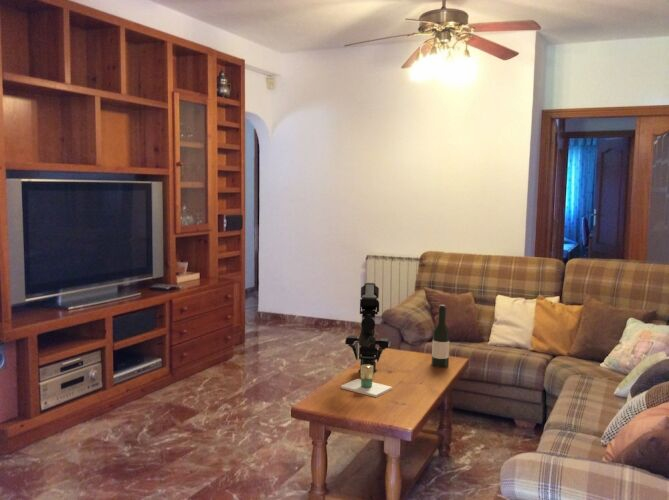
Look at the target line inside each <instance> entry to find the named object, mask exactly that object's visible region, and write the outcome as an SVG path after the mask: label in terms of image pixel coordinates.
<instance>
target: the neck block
mask: <svg viewBox="0 0 669 500" xmlns="http://www.w3.org/2000/svg"><path fill="white" fill-rule="evenodd" d="M340 388H341V389H343V390H347V391H351V392H354V393H359V394H361V395H362V394H363V395H365V396H369V397H373V398H378V397H379V396H382V395H383V394H385V393H388V392H389V391H391V390H393V387H392V386H390V385H386V384H382V383H378V382H374V381H373V378H372V379H362V378H361V377H360V378H355V379H353V380H350V381H349V382H346V383H343V384H342V385H341V386H340Z"/></svg>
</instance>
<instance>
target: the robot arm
mask: <svg viewBox="0 0 669 500" xmlns="http://www.w3.org/2000/svg"><path fill="white" fill-rule="evenodd" d="M379 292H380V288H379V287H378V286H377V285H376V283H375V282H364V285H363V286H361V287H360V299H359V315H361V321H360V322H361V325H360V326H361V328H360V335H359V337H358V336H357V335H352V334H349V335H348V336H347V337H346V338H345V345H348V347H350V348H351V349H352V351H353V354H354V357H355V360H356V361H358V360H360V365H359V366H360V367H359V368H360V369H358V370H357V371H358V372H359V373H361V365H364V364H368V365H372V366H373V373H375V372H377V367H376V366H377V363H379V361H380V358H381V356H382V353H383V351H384V350H386V349H388V348H390V346H391V340H390V338H385V337H384V338H383V337H381V338H380V339H376V315H378V313H380V301H379V297H380V296H379V294H380V293H379ZM376 345H378V347H377V346H376ZM376 362H377V363H376Z"/></svg>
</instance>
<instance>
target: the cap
mask: <svg viewBox="0 0 669 500" xmlns="http://www.w3.org/2000/svg"><path fill="white" fill-rule="evenodd" d="M361 378H362V379H372V380H373V379H374V372H373V366H372V365H368V364H364V365H361V372H360V379H361Z"/></svg>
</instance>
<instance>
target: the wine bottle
mask: <svg viewBox="0 0 669 500" xmlns="http://www.w3.org/2000/svg"><path fill="white" fill-rule="evenodd" d="M446 312H447V307H446V305H445V304H439V306H438V321H437V324H436V326H435V327H434V329H433V331H432V342H431V343H432V345H431V346H432V347H431V365H432V366H433V365H434V366H433V367H436V366H438V367H437V368H446V367H445V366H447V367H449V364H450V363H449V362H450V361H449V360H450V359H449V358H450V343H451V342H450V341H451V340H450V337H451V332H450V330H449V328H448V326H447V324H446V319H447V317H446V315H447V313H446Z"/></svg>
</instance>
